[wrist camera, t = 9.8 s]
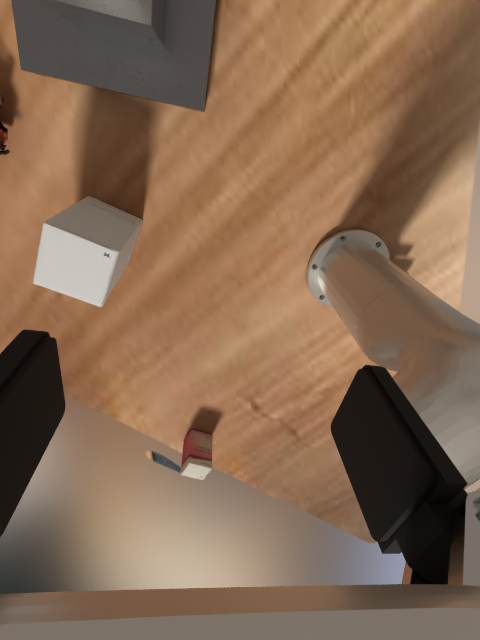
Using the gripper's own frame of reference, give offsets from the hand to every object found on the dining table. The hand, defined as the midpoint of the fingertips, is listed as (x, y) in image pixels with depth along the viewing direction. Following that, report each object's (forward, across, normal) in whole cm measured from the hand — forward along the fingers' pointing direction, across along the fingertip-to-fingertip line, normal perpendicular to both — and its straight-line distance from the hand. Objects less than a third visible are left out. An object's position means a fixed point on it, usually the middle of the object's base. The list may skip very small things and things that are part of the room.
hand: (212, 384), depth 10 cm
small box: (+37, -4, +50) cm, 62 cm away
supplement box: (+36, +13, +8) cm, 40 cm away
